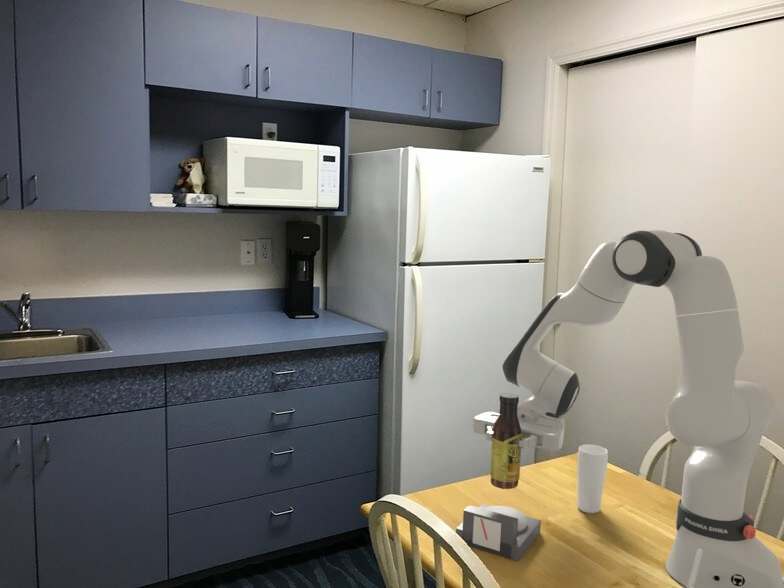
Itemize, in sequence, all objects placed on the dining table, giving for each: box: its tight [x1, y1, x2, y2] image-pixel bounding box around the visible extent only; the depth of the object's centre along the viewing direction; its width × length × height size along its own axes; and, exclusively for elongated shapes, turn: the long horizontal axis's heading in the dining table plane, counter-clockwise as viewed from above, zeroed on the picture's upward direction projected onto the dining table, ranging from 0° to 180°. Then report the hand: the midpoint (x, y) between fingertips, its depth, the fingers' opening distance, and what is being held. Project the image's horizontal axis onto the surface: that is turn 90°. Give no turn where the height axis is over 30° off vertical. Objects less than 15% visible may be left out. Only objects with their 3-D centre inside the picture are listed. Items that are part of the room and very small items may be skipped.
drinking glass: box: [576, 444, 609, 514], centre depth 160 cm, size 7×7×15 cm
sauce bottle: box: [489, 392, 522, 490], centre depth 144 cm, size 7×6×20 cm
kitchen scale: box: [455, 503, 542, 562], centre depth 146 cm, size 14×14×8 cm
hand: (505, 441), depth 144 cm, fingers closed on sauce bottle, 6 cm apart
